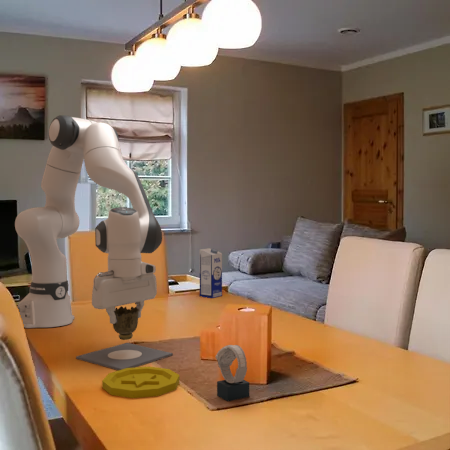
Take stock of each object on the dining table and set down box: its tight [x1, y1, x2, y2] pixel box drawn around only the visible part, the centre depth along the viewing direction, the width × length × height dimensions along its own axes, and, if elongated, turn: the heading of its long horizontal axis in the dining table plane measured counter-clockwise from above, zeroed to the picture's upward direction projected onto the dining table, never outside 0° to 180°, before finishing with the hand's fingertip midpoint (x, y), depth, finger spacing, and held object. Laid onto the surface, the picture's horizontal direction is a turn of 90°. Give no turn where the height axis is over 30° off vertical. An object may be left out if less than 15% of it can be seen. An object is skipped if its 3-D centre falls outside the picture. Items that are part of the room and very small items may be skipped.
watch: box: [215, 344, 250, 402], centre depth 128 cm, size 6×8×11 cm
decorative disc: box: [101, 365, 180, 399], centre depth 136 cm, size 17×18×2 cm
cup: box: [112, 305, 139, 341], centre depth 158 cm, size 8×7×8 cm
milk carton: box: [199, 247, 223, 299], centre depth 249 cm, size 7×7×20 cm
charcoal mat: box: [75, 342, 174, 371], centre depth 159 cm, size 18×18×1 cm
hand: (125, 320), depth 158 cm, fingers closed on cup, 7 cm apart
